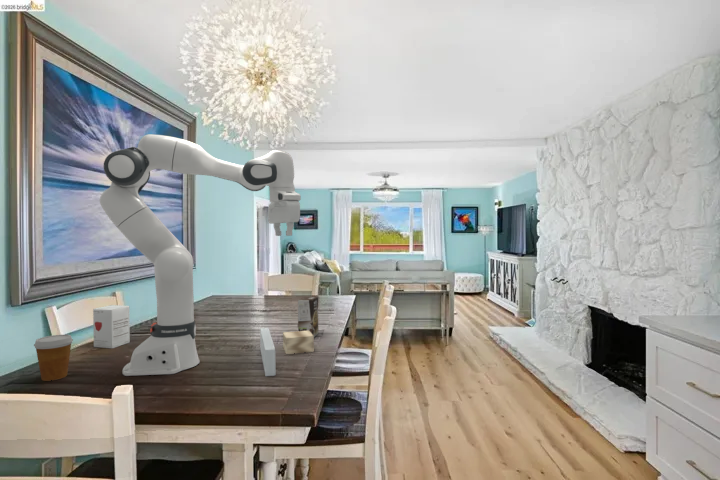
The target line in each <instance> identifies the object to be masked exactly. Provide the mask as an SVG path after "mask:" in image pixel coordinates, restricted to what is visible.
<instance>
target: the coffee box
mask: <svg viewBox="0 0 720 480" xmlns="http://www.w3.org/2000/svg"><path fill="white" fill-rule="evenodd" d="M308 330H309V331H310V332H311V333H312V335H313V336H314V338H315V337H316V336H318V335H319V296H303V297H301V298H299V299H297V331H308Z"/></svg>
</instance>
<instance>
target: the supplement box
mask: <svg viewBox="0 0 720 480" xmlns="http://www.w3.org/2000/svg"><path fill="white" fill-rule="evenodd" d="M92 312H93V313H92V314H93V315H92V316H93V317H92V318H93V348H101V349H102V348H104V349H115V348H118V347H120V346H123V345H126V344H130V341H131V339H130V337H131V335H130V333H131V332H130V331H131V330H130V329H131V328H130V305H120V304H119V305H118V304H117V305H116V304H115V305H114V304H111V305H105V306H102V307H101V306H99V307H96V308H93V310H92Z"/></svg>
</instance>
